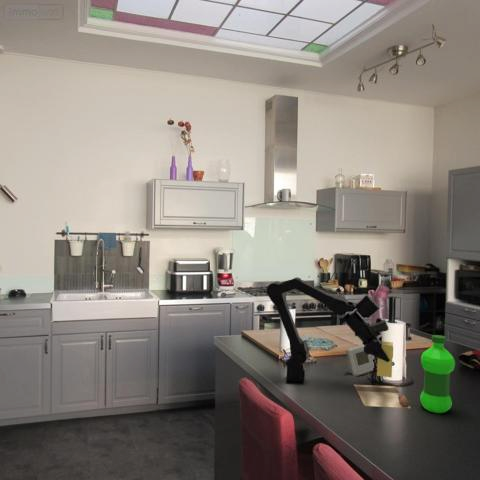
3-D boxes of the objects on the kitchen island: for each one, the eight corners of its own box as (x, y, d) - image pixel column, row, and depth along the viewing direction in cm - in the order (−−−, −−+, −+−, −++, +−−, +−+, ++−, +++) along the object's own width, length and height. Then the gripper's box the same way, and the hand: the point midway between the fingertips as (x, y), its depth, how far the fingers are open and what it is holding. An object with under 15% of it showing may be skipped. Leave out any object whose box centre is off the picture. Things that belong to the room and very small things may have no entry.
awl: (402, 407, 164) (402, 399, 164) (394, 396, 174) (394, 389, 174) (409, 407, 164) (409, 400, 164) (401, 396, 174) (401, 389, 174)
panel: (364, 408, 164) (364, 405, 164) (353, 386, 185) (353, 384, 185) (410, 410, 164) (410, 408, 164) (394, 388, 185) (394, 386, 185)
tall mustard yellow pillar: (376, 375, 178) (378, 344, 178) (377, 371, 183) (378, 340, 183) (391, 377, 177) (393, 345, 176) (391, 373, 182) (393, 342, 181)
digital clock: (353, 378, 196) (354, 351, 195) (338, 371, 203) (339, 346, 203) (382, 372, 204) (383, 346, 204) (366, 366, 212) (367, 341, 211)
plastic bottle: (449, 420, 156) (453, 342, 155) (415, 412, 162) (418, 337, 161) (455, 410, 165) (458, 336, 163) (422, 403, 170) (425, 331, 169)
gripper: (375, 317, 171) (407, 352, 169) (376, 307, 189) (405, 339, 186) (350, 337, 174) (382, 372, 171) (354, 326, 192) (382, 357, 189)
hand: (388, 359), depth 179 cm, fingers closed on tall mustard yellow pillar, 5 cm apart
